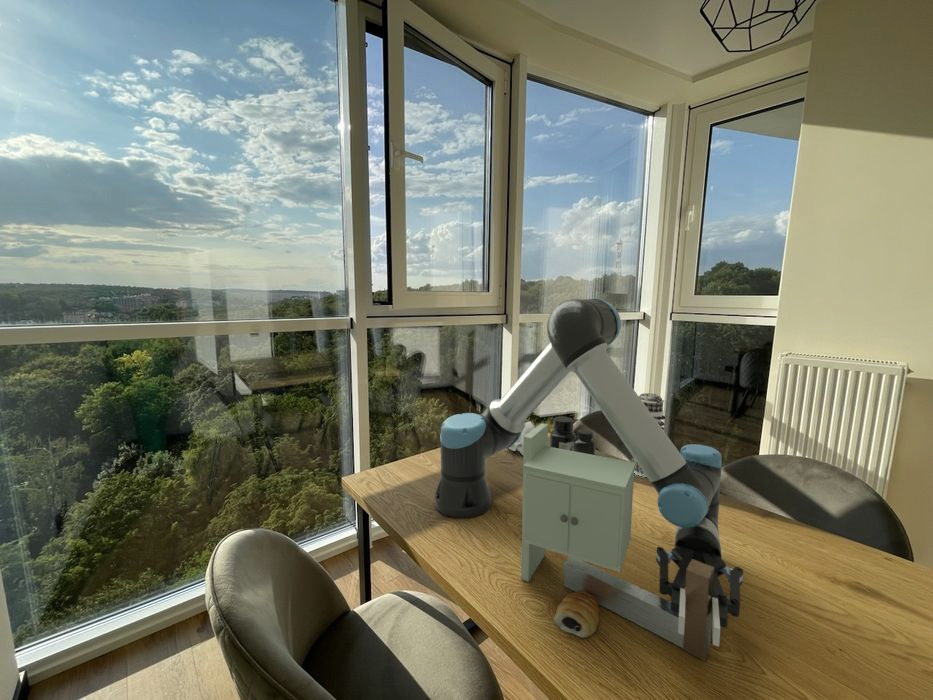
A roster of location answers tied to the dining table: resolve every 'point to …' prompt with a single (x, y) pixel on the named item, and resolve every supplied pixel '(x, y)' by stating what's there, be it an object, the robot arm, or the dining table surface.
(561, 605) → the pastry
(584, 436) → the supplement bottle
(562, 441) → the ink bottle
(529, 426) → the skull bowl
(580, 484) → the green cabinet
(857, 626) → the dining table surface
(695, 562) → the l-shaped try square
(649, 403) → the decorative candle
